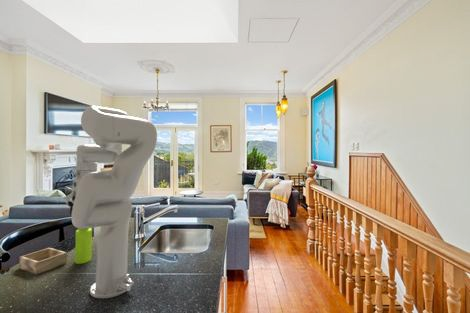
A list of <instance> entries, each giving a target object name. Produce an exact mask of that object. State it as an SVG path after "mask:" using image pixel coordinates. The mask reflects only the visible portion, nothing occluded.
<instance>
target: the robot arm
mask: <svg viewBox="0 0 470 313" xmlns="http://www.w3.org/2000/svg"><path fill="white" fill-rule="evenodd" d="M80 123H81V124H80V125H81V128H82V129H83V132H85V133H86V134H87V135H88V137H90V138H91V139H93V142H94V143H95V144H80V145H78V146H77V148H76V163H75V166H76V167H75V171H74V172H73V176H75V177H74V179H73V183H72V186H71V193H69V194H67V195H66V196H64V197H63V201H64V202H65V204H66V205H67V206H68V207H69V208H70V210H69V215H70V218H71V223H72V225H73V226H74V227H75V228H76V229H77V230H78V229H89V228H92V229H93V228H98V227H99V228H100V227H102V228H101V230H100V232H98V235H97V239H96V255H95V258H96V261H95V282H94V283H93V284H92V285H91V286H90V288H89V294H90V295H91V297H93V298H95V299H110V298H111V299H112V298H114V297H117V296H120V295H123V294H124V293H126V292H130V291H131V289H132V286H133V285H134V284H135V281H134V280H132V279H131V278H130V274H129V273H128V256H129V254H128V253H129V252H128V251H129V250H128V249H129V227H130V221H131V216H132V212H133V204H132V200H131V199H130V198H131V197H132V196H133V195H134V193H135V191H136V189H137V186H138V183H139V181H140V178H141V176H142V173H143V170H144V168H145V167H146V164H147V163H148V161H149V160H150V159H151V157H152V155H153V153H154V151H155V149H156V145H157V142H158V141H157V140H158V132H157V128H156V126H155V125H154V124H153V123H152V122H151V121H149V120H148V119H143V118H140V117H136V116H131V115H129V113H127V112H126V111H123V110H122V109H121V110H120V109H116V108H115V109H114V108H110V107H103V106H98V105H97V106H96V105H90V106H87V108H85V109H84V111H82V115H81V117H80ZM123 145H128V148H126V149H125V150H123ZM129 145H130V146H129ZM98 164H113V165H112V168H111V169H110V170H106V171H98Z"/></svg>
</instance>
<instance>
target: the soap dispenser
mask: <svg viewBox="0 0 470 313" xmlns="http://www.w3.org/2000/svg"><path fill="white" fill-rule="evenodd" d="M92 246H93V228H89V229H78V228H77V230H75V254H74V263H75V264H78V265H79V264H86V263H89V262H90V261H91V260H92V254H93V252H92V249H93V247H92Z"/></svg>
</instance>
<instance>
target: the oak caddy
mask: <svg viewBox="0 0 470 313" xmlns="http://www.w3.org/2000/svg"><path fill="white" fill-rule="evenodd" d="M67 254H68V253H67V252H66V251H63V250H61V249H60V250H59V249H57V248H52V247H46V248H44V249H41V250H37V251H33V252H31V253H28V254H25V255H21V256H19V257H18V258H19V263H18V265H19V266H18V267H19V268H18V269H21V270H23V271H25V272H28V273H31V274H34V275H39V274H42V273H45V272H48V271H50V270H53V269H55V268H58V267H60V266H63V265H66V264H67V261H68V260H67V259H68V255H67Z"/></svg>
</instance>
